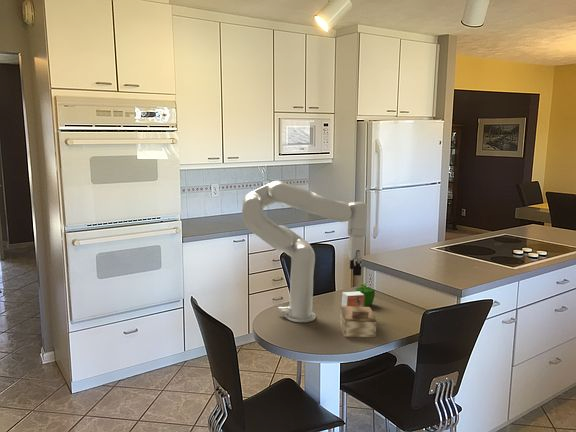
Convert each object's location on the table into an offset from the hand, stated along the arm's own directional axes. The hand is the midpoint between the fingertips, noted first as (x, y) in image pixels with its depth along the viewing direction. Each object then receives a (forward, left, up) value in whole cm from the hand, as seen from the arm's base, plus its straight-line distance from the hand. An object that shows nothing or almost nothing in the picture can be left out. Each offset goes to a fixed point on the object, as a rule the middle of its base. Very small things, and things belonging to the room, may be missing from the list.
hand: (355, 272), depth 202 cm
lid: (0, -14, -13) cm, 19 cm away
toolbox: (0, -14, -20) cm, 24 cm away
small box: (0, 0, -20) cm, 20 cm away
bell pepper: (+8, +16, -20) cm, 27 cm away
